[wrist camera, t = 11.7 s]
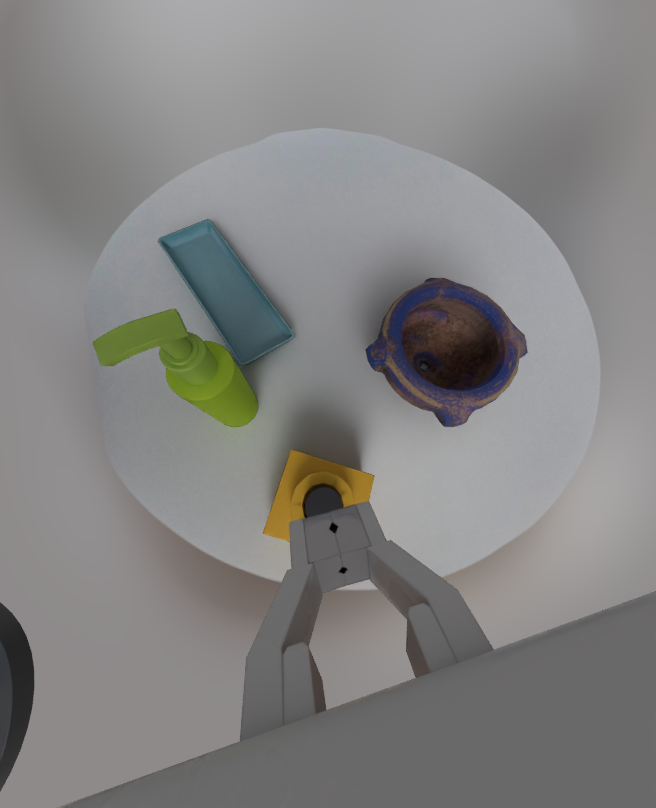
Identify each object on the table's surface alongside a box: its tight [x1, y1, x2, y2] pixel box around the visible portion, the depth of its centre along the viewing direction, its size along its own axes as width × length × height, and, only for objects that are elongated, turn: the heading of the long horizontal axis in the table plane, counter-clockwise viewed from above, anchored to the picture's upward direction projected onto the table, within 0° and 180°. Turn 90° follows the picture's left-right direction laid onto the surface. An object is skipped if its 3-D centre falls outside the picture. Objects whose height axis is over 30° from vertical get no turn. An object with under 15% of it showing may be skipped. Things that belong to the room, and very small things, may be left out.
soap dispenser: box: [93, 309, 258, 427], centre depth 25 cm, size 6×7×20 cm
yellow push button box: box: [263, 450, 374, 542], centre depth 29 cm, size 10×9×8 cm
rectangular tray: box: [158, 219, 295, 366], centre depth 38 cm, size 26×9×2 cm, turn 35°
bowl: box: [366, 278, 527, 427], centre depth 35 cm, size 18×18×10 cm
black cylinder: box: [305, 486, 342, 517], centre depth 24 cm, size 4×4×2 cm
